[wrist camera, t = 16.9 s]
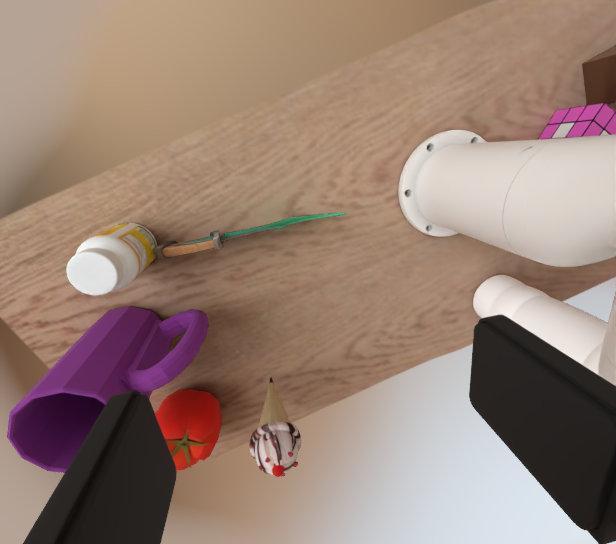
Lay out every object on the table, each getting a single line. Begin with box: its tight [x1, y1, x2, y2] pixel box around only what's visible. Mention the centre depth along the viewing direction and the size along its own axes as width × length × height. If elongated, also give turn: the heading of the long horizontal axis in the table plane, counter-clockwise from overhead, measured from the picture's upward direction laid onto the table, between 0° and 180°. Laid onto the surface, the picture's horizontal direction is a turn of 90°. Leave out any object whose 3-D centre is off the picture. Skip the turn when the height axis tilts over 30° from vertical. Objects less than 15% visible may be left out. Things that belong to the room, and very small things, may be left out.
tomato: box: [155, 389, 222, 470], centre depth 41 cm, size 9×9×8 cm
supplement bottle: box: [67, 223, 157, 295], centre depth 31 cm, size 5×5×10 cm
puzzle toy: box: [538, 103, 616, 140], centre depth 37 cm, size 6×6×6 cm
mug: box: [7, 306, 209, 473], centre depth 33 cm, size 9×16×15 cm, turn 115°
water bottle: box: [473, 275, 608, 375], centre depth 35 cm, size 7×7×25 cm
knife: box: [155, 213, 349, 259], centre depth 35 cm, size 21×2×5 cm, turn 102°
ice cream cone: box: [250, 378, 301, 477], centre depth 38 cm, size 6×6×15 cm
